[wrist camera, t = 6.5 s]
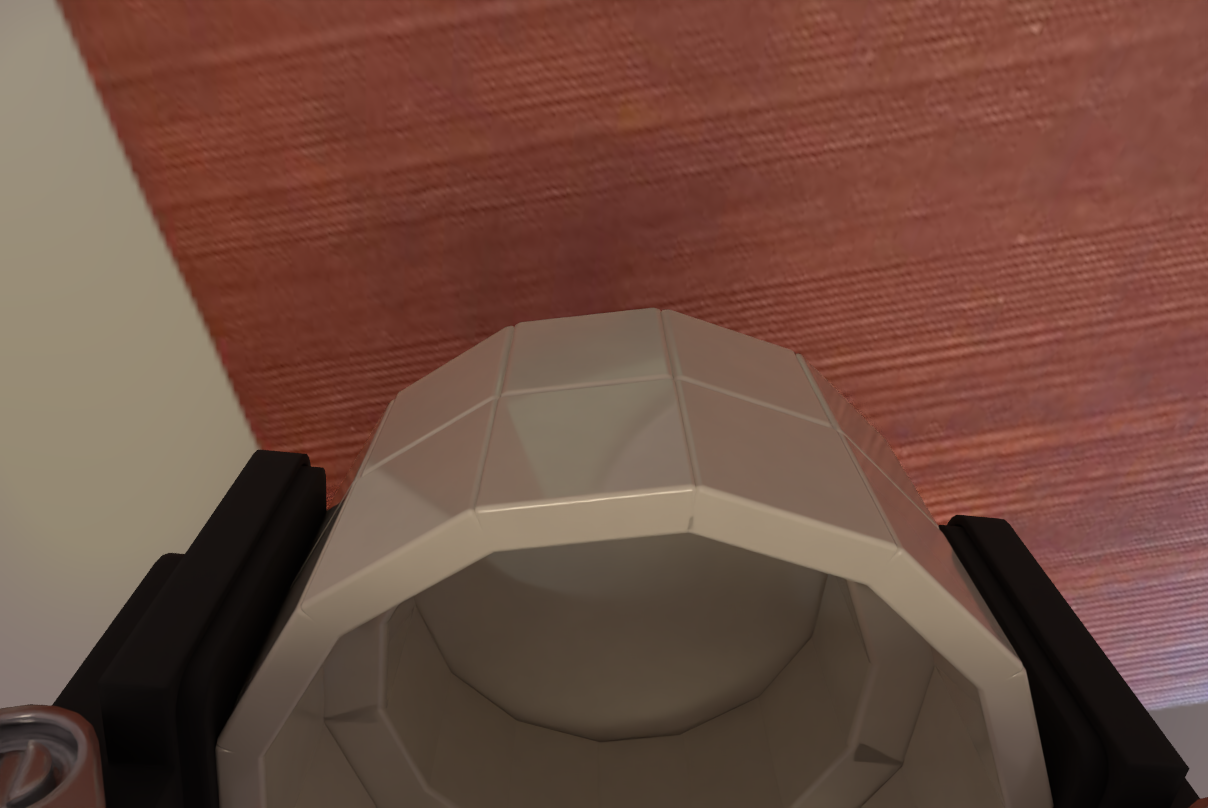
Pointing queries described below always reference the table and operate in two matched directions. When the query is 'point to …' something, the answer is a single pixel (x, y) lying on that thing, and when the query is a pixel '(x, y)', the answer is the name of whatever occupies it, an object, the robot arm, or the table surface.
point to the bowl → (630, 599)
